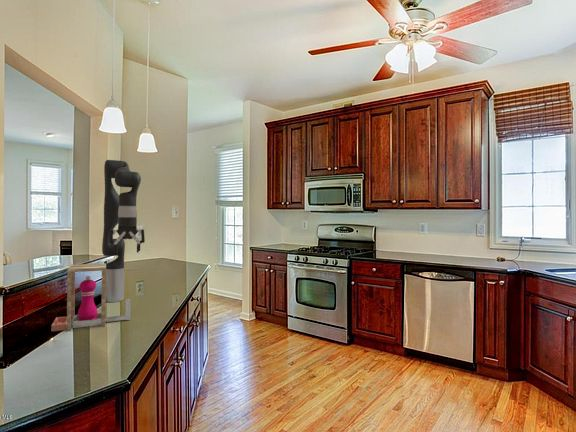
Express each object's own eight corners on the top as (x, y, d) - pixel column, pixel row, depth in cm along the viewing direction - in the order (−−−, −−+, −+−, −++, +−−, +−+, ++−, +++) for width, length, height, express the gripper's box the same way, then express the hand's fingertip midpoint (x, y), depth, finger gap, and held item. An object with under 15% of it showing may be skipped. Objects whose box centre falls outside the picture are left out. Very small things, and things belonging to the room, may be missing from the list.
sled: (73, 321, 153) (73, 302, 153) (129, 315, 162) (129, 297, 163) (70, 328, 143) (70, 308, 143) (130, 321, 153) (130, 302, 153)
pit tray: (56, 323, 151) (56, 317, 151) (69, 321, 153) (69, 316, 153) (51, 331, 140) (51, 325, 140) (66, 329, 142) (66, 323, 142)
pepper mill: (101, 322, 153) (101, 275, 153) (86, 327, 146) (87, 277, 146) (88, 320, 155) (88, 274, 155) (73, 325, 148) (73, 276, 148)
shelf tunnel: (71, 320, 154) (71, 264, 155) (105, 317, 160) (106, 263, 160) (67, 330, 141) (67, 269, 141) (104, 326, 146) (105, 267, 147)
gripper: (144, 216, 165) (144, 251, 165) (110, 216, 159) (109, 252, 159) (145, 216, 158) (144, 253, 158) (109, 216, 152) (108, 254, 153)
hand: (127, 252), depth 159 cm, fingers open, 8 cm apart
